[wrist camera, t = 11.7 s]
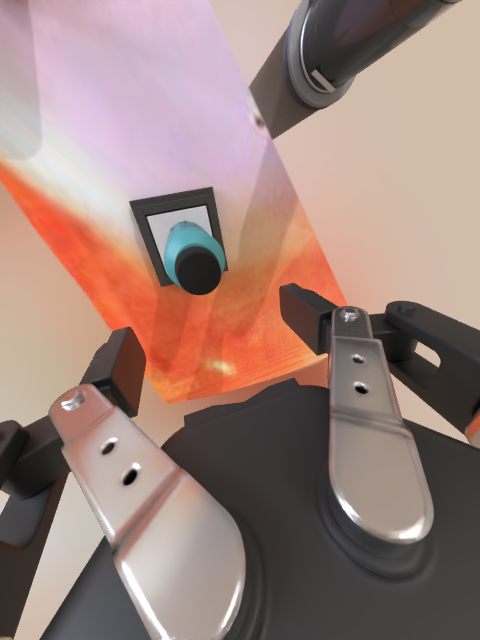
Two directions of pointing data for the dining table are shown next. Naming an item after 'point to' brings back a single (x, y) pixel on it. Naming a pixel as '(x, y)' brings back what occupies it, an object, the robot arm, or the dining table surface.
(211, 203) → the scale
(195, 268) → the beverage bottle
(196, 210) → the pan
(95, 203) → the dining table surface
